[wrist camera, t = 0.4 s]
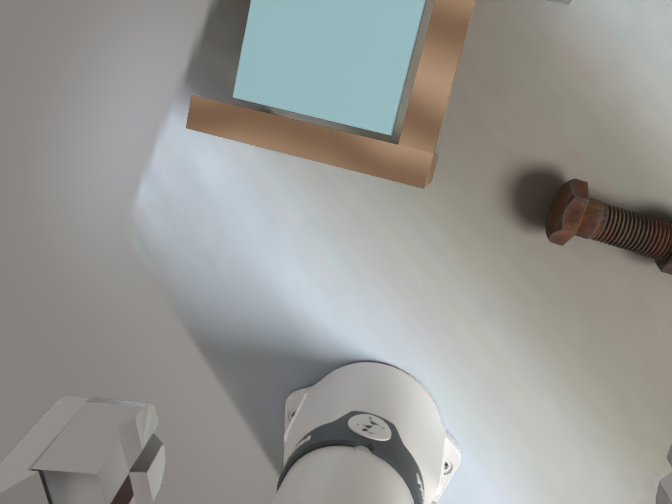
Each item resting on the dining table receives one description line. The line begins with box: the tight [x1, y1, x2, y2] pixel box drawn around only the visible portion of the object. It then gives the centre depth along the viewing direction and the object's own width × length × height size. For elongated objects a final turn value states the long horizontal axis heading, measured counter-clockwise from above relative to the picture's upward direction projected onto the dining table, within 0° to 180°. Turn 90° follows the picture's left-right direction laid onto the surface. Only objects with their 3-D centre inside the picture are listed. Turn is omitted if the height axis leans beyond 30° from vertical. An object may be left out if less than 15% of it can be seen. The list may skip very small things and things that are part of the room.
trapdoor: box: [233, 0, 426, 136], centre depth 38 cm, size 14×12×1 cm
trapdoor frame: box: [186, 0, 476, 189], centre depth 44 cm, size 20×18×14 cm
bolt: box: [546, 179, 672, 275], centre depth 46 cm, size 6×5×15 cm
